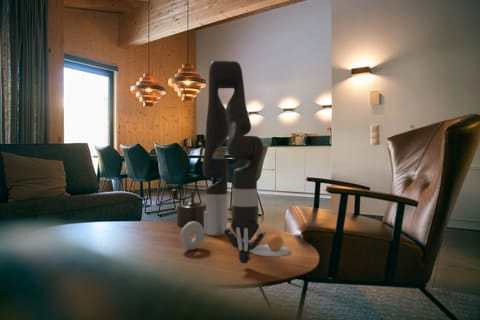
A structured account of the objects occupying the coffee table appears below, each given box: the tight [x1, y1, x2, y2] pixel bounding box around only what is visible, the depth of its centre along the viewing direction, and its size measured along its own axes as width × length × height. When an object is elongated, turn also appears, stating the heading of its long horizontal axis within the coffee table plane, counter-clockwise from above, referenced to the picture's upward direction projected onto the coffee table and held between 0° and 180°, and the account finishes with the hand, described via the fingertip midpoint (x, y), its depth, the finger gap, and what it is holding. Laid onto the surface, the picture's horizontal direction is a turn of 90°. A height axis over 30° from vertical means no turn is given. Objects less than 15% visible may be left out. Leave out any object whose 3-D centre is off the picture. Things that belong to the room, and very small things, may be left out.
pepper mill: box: [169, 188, 206, 228], centre depth 148 cm, size 16×11×18 cm
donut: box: [179, 221, 205, 251], centre depth 108 cm, size 10×4×10 cm, turn 139°
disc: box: [250, 243, 291, 257], centre depth 108 cm, size 14×14×1 cm
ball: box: [267, 234, 284, 251], centre depth 108 cm, size 6×6×6 cm
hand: (244, 262), depth 90 cm, fingers closed
